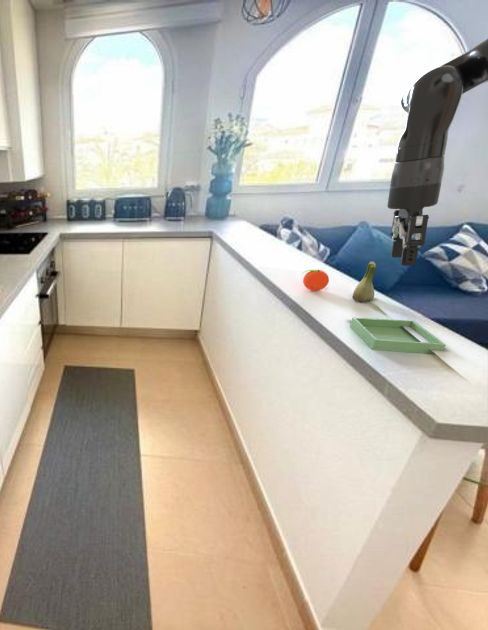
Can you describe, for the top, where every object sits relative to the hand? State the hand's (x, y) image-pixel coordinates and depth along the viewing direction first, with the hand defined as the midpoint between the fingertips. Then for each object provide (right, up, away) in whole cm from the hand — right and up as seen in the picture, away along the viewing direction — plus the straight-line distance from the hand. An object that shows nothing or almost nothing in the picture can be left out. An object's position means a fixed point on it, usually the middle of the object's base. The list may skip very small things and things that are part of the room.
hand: (402, 260), depth 75 cm
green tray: (+7, -18, +10) cm, 21 cm away
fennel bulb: (+16, -8, +30) cm, 35 cm away
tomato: (+8, -4, +39) cm, 40 cm away
